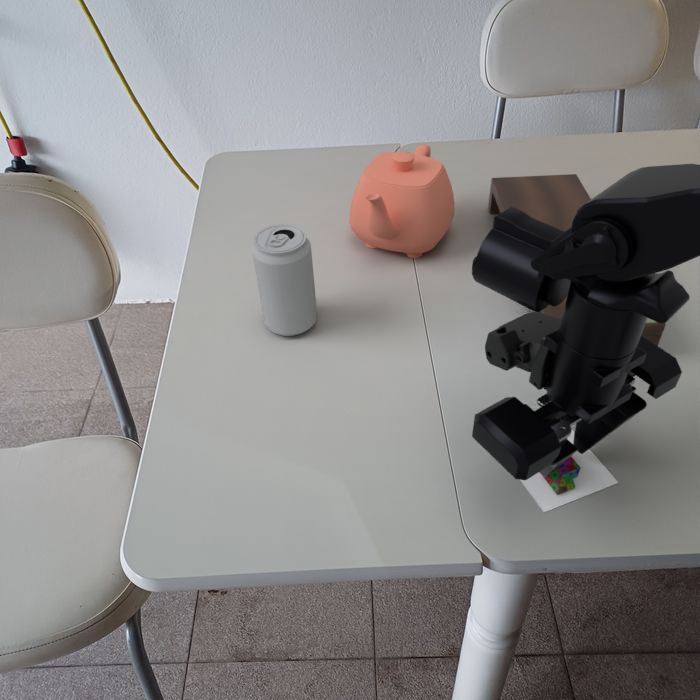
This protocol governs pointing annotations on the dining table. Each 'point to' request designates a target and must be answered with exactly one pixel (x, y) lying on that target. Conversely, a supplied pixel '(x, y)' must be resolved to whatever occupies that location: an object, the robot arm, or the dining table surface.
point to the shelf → (551, 215)
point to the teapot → (403, 202)
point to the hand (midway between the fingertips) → (560, 461)
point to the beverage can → (285, 279)
